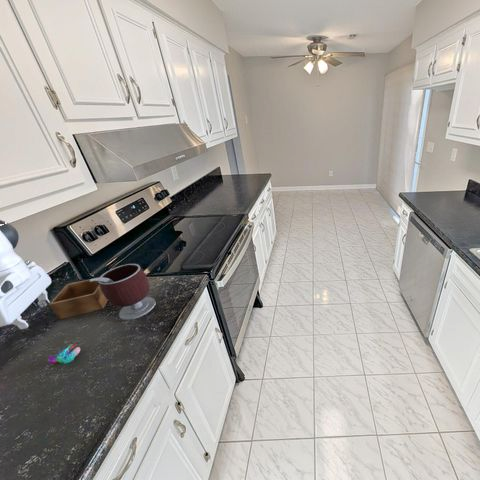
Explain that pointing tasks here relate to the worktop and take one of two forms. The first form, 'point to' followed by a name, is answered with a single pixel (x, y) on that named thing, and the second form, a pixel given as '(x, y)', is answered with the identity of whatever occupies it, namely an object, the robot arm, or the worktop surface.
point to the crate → (78, 299)
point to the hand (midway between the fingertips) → (36, 315)
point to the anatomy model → (65, 355)
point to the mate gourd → (127, 290)
